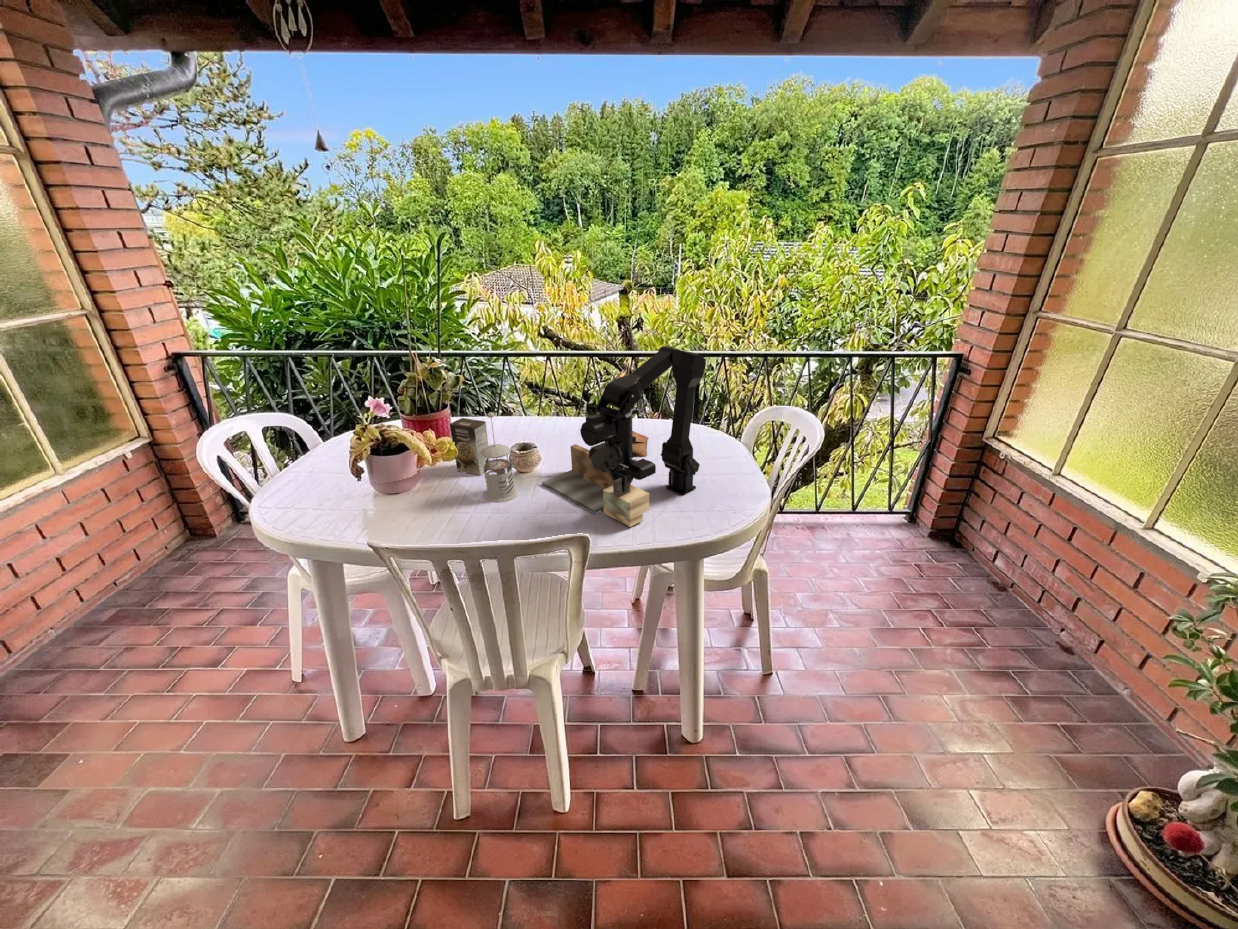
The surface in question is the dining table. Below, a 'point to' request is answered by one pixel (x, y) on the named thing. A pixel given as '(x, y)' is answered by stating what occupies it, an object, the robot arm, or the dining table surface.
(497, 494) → the french press
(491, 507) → the dining table surface
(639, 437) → the sunglasses case
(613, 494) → the wooden block
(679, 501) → the dining table surface
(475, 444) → the coffee box
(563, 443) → the dining table surface
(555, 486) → the wall board
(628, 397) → the robot arm
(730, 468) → the dining table surface
